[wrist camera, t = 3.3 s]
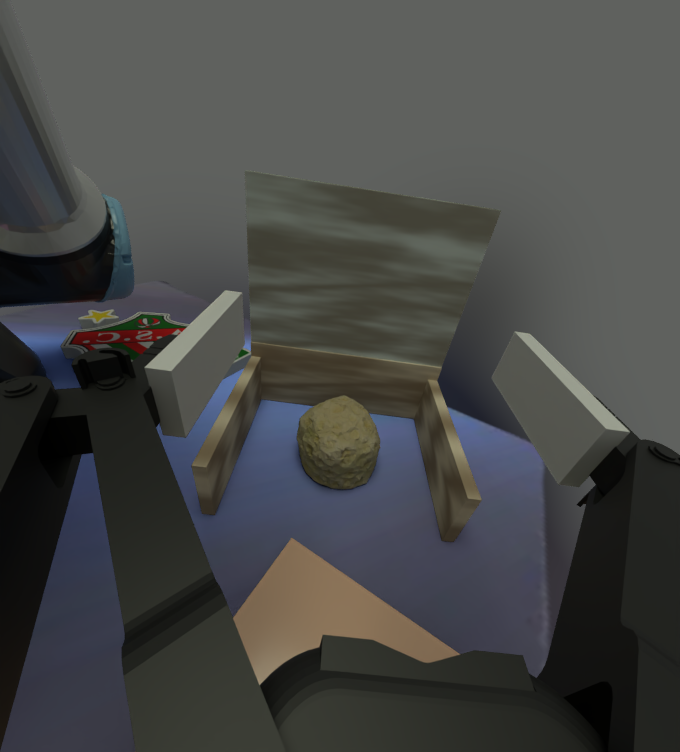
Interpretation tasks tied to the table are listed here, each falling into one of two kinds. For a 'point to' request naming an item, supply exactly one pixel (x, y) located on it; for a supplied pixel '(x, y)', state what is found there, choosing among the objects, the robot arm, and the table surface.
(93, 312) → the decorative emblem
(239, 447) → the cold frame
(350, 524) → the table surface
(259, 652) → the terracotta tile
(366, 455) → the olive rounded lump
